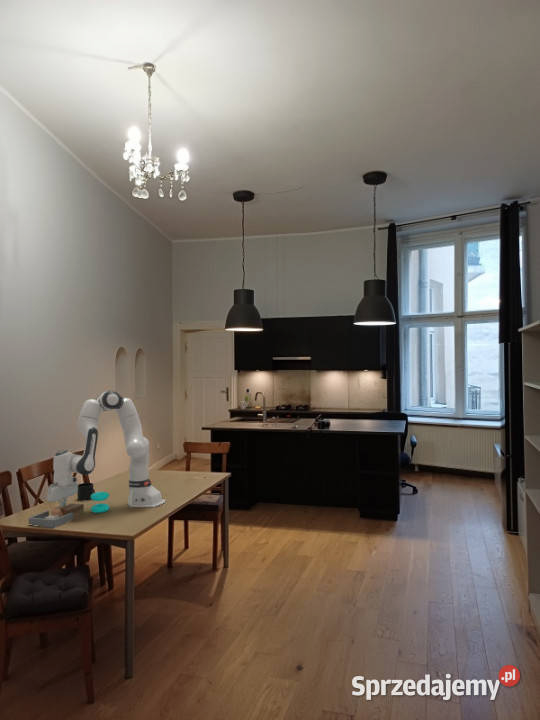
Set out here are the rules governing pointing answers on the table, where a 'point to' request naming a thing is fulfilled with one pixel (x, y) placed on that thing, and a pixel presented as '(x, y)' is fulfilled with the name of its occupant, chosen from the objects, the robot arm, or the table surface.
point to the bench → (72, 509)
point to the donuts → (101, 507)
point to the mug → (85, 491)
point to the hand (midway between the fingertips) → (62, 506)
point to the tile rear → (57, 512)
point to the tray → (49, 520)
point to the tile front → (52, 517)
